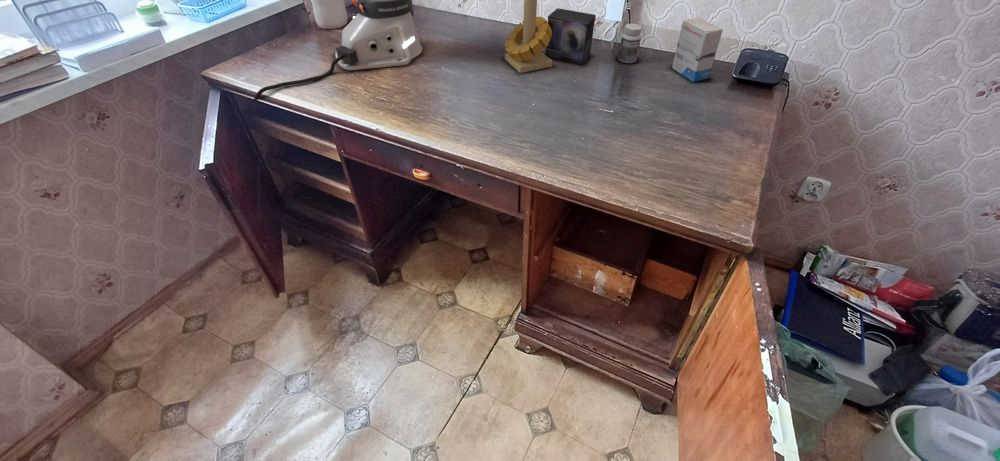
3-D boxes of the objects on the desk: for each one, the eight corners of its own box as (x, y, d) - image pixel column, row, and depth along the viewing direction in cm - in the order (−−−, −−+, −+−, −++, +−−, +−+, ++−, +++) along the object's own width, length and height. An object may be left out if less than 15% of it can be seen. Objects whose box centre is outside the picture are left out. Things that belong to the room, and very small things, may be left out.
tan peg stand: (520, 73, 115) (521, 6, 104) (504, 59, 120) (505, -6, 110) (552, 66, 117) (557, 1, 107) (535, 53, 123) (538, -11, 112)
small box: (543, 57, 121) (546, 15, 114) (553, 48, 125) (556, 7, 118) (582, 65, 118) (587, 22, 110) (591, 55, 122) (596, 13, 114)
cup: (325, 32, 134) (316, -4, 127) (310, 23, 140) (300, -12, 133) (355, 24, 139) (347, -12, 132) (338, 15, 144) (330, -19, 137)
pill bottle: (621, 54, 122) (627, 21, 117) (639, 58, 121) (645, 24, 115) (615, 61, 119) (620, 27, 114) (632, 65, 118) (639, 31, 112)
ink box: (709, 79, 112) (725, 29, 104) (691, 82, 110) (706, 32, 102) (686, 64, 118) (700, 16, 109) (669, 68, 116) (682, 19, 108)
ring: (521, 68, 114) (516, 60, 112) (504, 48, 121) (498, 40, 119) (559, 36, 111) (555, 28, 109) (539, 18, 119) (535, 10, 117)
